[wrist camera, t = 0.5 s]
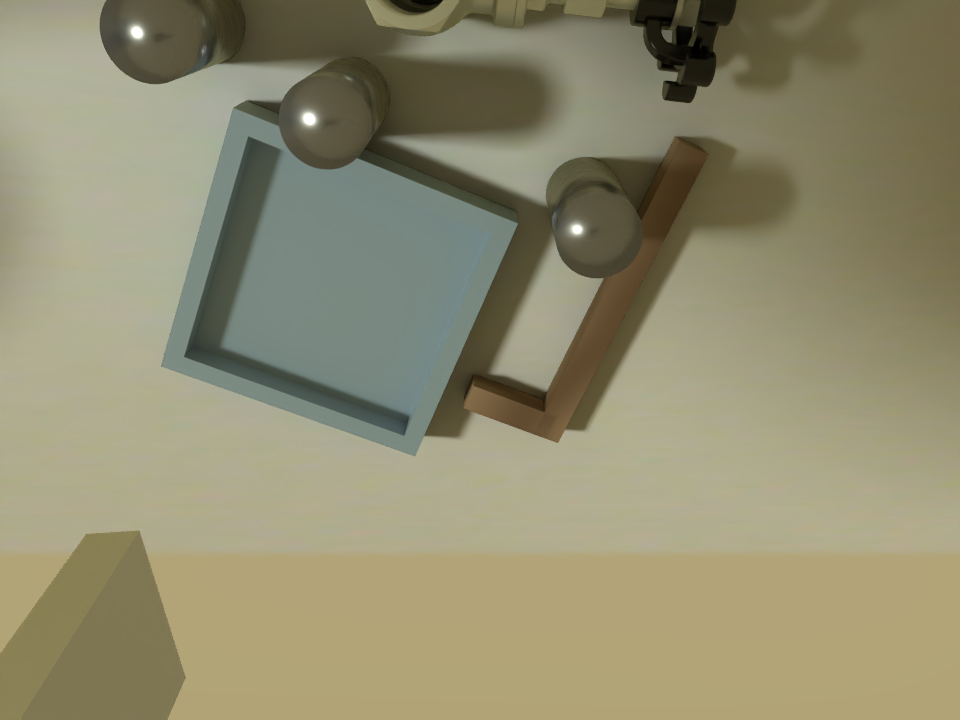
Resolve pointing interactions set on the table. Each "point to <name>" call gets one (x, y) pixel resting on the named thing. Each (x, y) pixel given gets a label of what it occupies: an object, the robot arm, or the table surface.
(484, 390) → the hook tool
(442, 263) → the tray
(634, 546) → the table surface
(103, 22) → the spacers
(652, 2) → the valve
